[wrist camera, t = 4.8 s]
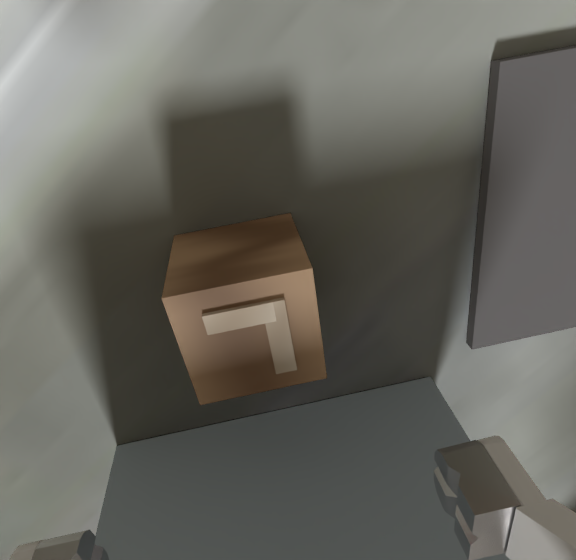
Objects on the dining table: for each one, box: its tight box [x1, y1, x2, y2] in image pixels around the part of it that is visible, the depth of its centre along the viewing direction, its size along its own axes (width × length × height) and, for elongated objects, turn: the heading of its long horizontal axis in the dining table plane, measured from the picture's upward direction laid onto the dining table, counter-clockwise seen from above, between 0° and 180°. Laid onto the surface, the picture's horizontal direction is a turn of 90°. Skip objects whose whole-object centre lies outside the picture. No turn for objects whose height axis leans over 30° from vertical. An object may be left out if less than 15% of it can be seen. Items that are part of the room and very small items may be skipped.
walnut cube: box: [161, 213, 327, 405], centre depth 17 cm, size 5×5×5 cm
